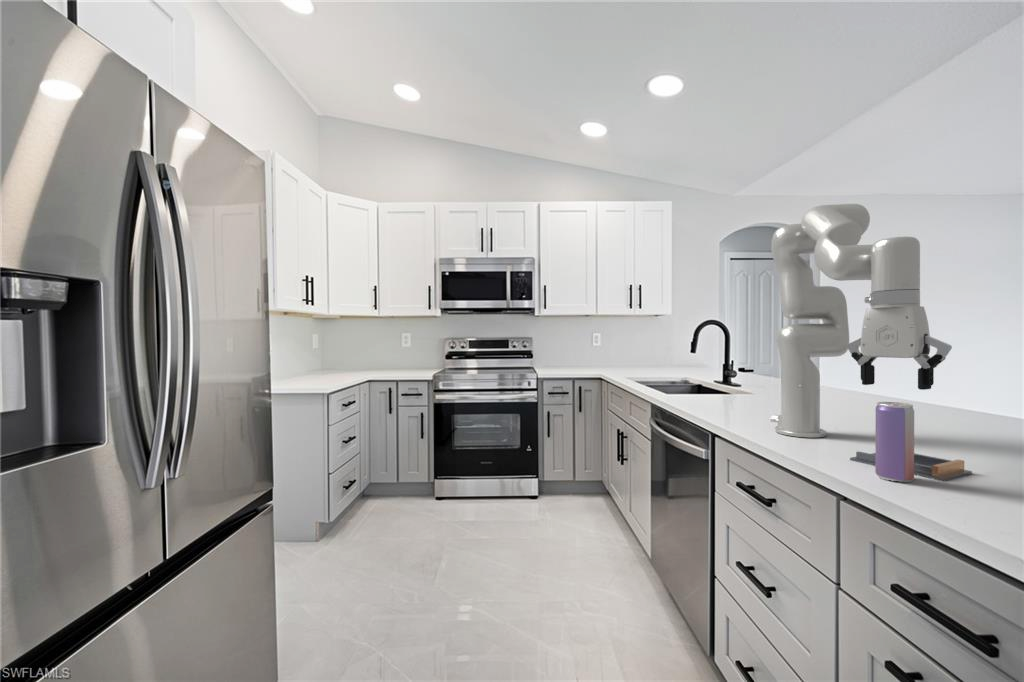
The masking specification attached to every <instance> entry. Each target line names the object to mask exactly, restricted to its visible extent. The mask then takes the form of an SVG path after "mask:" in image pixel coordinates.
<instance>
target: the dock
mask: <svg viewBox="0 0 1024 682" xmlns="http://www.w3.org/2000/svg"><path fill="white" fill-rule="evenodd" d="M875 456H876V452H874V453H867V452H863V451H856V453H855V456H853V457H850V458H849V461H854V462H858V463H862V464H866V463H867V465H870V464H871V466H875ZM914 474H918V475H922V476H921V477H923V476H925V477H924V478H927V477H930V478H929V479H931V478H934V479H933V480H936V479H938V480H937V481H940V480H942V481H941V482H945V481H944V480H946V481H949V479H950V480H953V479H957V478H960V477H964V476H969V475H972V474H973V471H972V470H968V469H965V460H964V459H954V460H950V459H945V458H940V457H935V456H929V455H925V454H919V453H915V452H914ZM918 475H917V476H918ZM952 478H953V479H952Z"/></svg>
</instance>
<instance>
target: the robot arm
mask: <svg viewBox="0 0 1024 682" xmlns="http://www.w3.org/2000/svg"><path fill="white" fill-rule="evenodd" d="M870 221H871V216H870V212H869V210H868V209H867V208H866V207H865V206H864V205H862V204H858V203H844V204H843V203H842V204H841V203H840V204H839V203H837V204H823V205H818V206H814V207H812V208H809V209H808V210H807V211H806V212H805V213H804V215H803V216H802V217H801V223H793V224H787V225H783V226H781V227H779V228H777V229H776V230H775V231H774V233H773V235H772V238H771V255H772V259H773V261H774V262H773V263H774V265H775V267H776V270H777V273H778V279H779V280H778V281H779V295H780V308H781V312H782V314H783V317H785V318H786V319H790V320H802V321H803V320H821V321H822V323H791V324H787V325H785V326H783V327H782V328H781V329H780V330H779V331H778V332H777V339H776V340H777V341H776V342H777V348H778V353H779V358H780V394H781V396H780V406H781V407H780V408H781V409H780V415H777V414H773V415H772V416H771V417H770V418H769V420H770V422H772V423H777V426H775V429H774V430H775V432H776V433H778V434H780V435H786V436H790V437H796V438H797V437H798V438H807V439H808V438H809V439H810V438H811V439H812V438H813V439H814V438H815V439H816V438H824V437H826V436H827V431H826V430H824V429H822V428H821V423H820V422H821V381H820V380H821V374H820V371H819V369H818V367H817V365H816V364H815V363H814V362H813V361H812V360H811V358H831V357H832V358H833V357H837V358H838V357H841V356H843V355H845V354H846V353H847V352H848V351H849V352H850V354H851V357H852V358H853V360H854V361H856V362H857V365H858V366H860V380H861V384H862V385H864V386H868V385H869V386H870V385H874V384H875V372H876V371H875V370H876V369H875V365H874V364H873V362H875V361H876V359H877V358H887V359H888V358H889V359H890V358H893V359H896V358H897V359H914V360H915V362H916V363H917V364H918V365H919V366H920V368H918V369H917V389H918V390H921V391H922V390H923V391H924V390H931V389H932V386H934V379H935V377H934V373H935V372H934V371H935V370H934V369H936V368H937V367H938V366H939V365H940V364H941V363H942V362H943V361H945V360H946V357H947V356H948V354H949V353H950V351H952V345H951V344H949V343H947V342H944V341H942V340H939V339H937V338H935V337H932V336H930V335H931V334H930V329H929V328H930V327H929V326H930V325H929V321H928V317H927V312H926V309H925V307H924V306H921V244H920V241H919V240H918V238H916V237H914V236H895V237H888V238H881V239H880V240H877V241H875V242H874V243H873V244H859V243H860V241H861V238H862V236H863V235H864V234H865V233H866V231H867V230H868V228H869V226H870ZM802 254H803V255H804V254H805V255H807V254H809V255H811V254H813V255H814V256H813V257H814V262H815V265H816V267H817V269H818V270H820V271H821V272H822V273H823V274H824V275H825V276H826V277H827V278H829V279H831V280H834V281H841V282H843V281H871V282H870V283H871V284H870V292H871V293H869V296H866V297H864V300H863V301H864V303H865V304H868V305H870V308H866V309H865V313H864V315H863V316H864V317H863V322H862V327H861V335H860V338H858V339H856V340H854V341H852V342H850V330H849V329H850V327H849V318H848V316H849V315H848V305H847V299H846V296H845V294H844V292H843V291H842V289H840V288H838V287H836V286H830V285H829V286H828V285H826V286H824V285H823V286H822V285H821V286H820V285H818V286H816V285H815V283H814V271H813V269H812V267H811V265H810V264H809V263H808V262H807V261H806V260H805V259H804V258H803V257H801V255H802ZM931 347H934V348H935V349H936V353H935V354H934V355H932V356H930V352H931ZM859 348H860V350H859Z"/></svg>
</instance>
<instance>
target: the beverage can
mask: <svg viewBox="0 0 1024 682" xmlns="http://www.w3.org/2000/svg"><path fill="white" fill-rule="evenodd" d="M875 453H876V456H875V465H874V467H875V470H874V471H875V475H876V476H877V477H878V478H879V477H880V478H879V479H881V478H882V479H881V480H884V479H886V480H885V481H887V480H891V481H890V482H892V481H899V482H898V483H900V482H908V483H911V482H913V480H914V479H915V475H914V453H915V410H914V405H913V404H911V403H907V402H897V401H896V402H895V401H877V402H876V406H875ZM910 481H911V482H910Z"/></svg>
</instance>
